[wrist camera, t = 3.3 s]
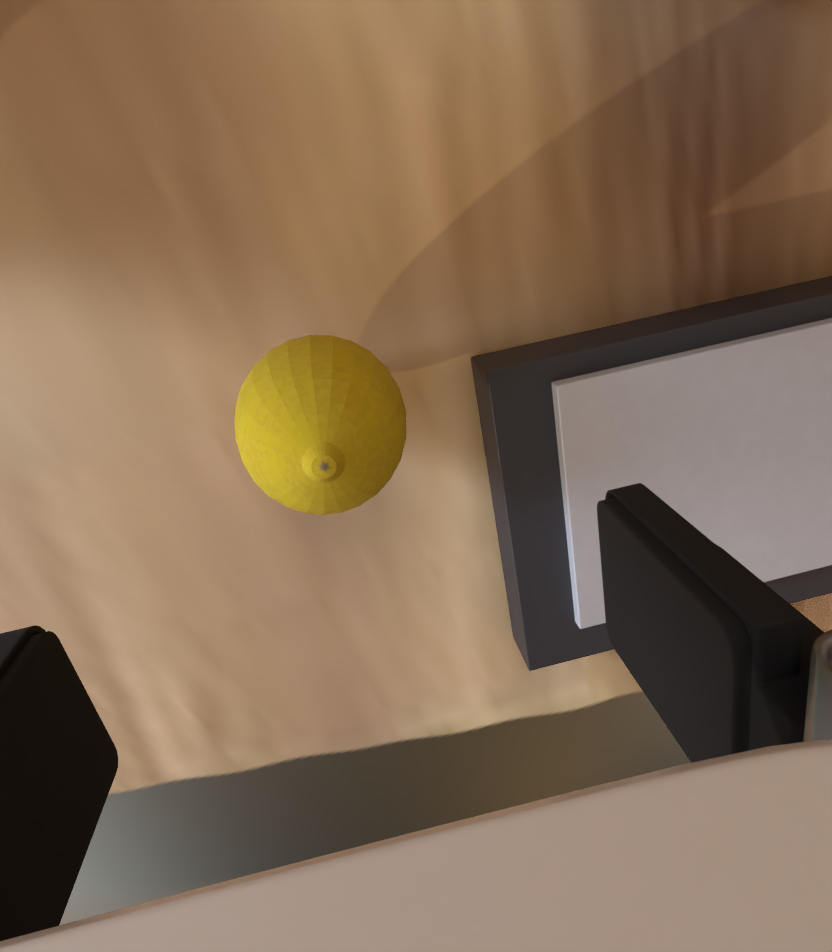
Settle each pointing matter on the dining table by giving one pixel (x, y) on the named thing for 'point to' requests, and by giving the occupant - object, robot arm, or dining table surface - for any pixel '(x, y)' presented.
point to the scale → (661, 451)
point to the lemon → (320, 424)
